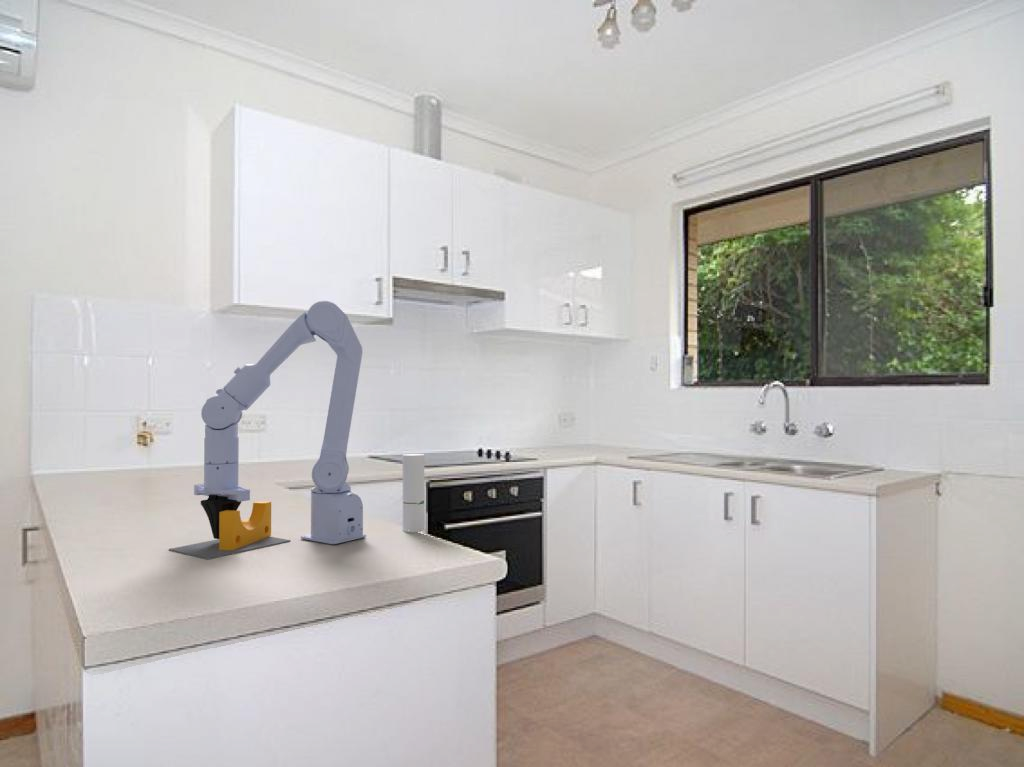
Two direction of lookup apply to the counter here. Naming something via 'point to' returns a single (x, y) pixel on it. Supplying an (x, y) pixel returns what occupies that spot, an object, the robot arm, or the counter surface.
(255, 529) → the pipe clamp
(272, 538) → the mat
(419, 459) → the tube
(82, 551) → the counter surface
